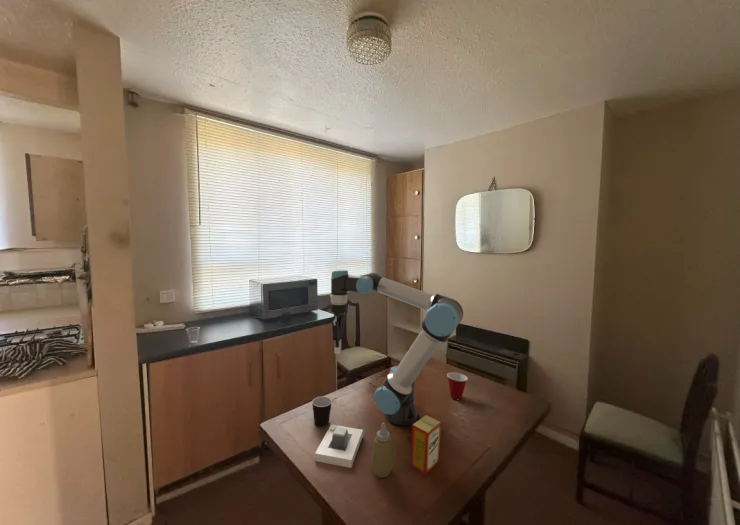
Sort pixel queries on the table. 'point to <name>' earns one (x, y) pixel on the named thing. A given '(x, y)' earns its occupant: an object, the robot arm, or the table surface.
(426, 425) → the baking soda box
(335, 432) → the plug
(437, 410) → the table surface
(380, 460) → the squeeze bottle
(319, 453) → the socket plate
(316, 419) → the coffee mug
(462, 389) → the plastic cup
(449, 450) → the table surface
